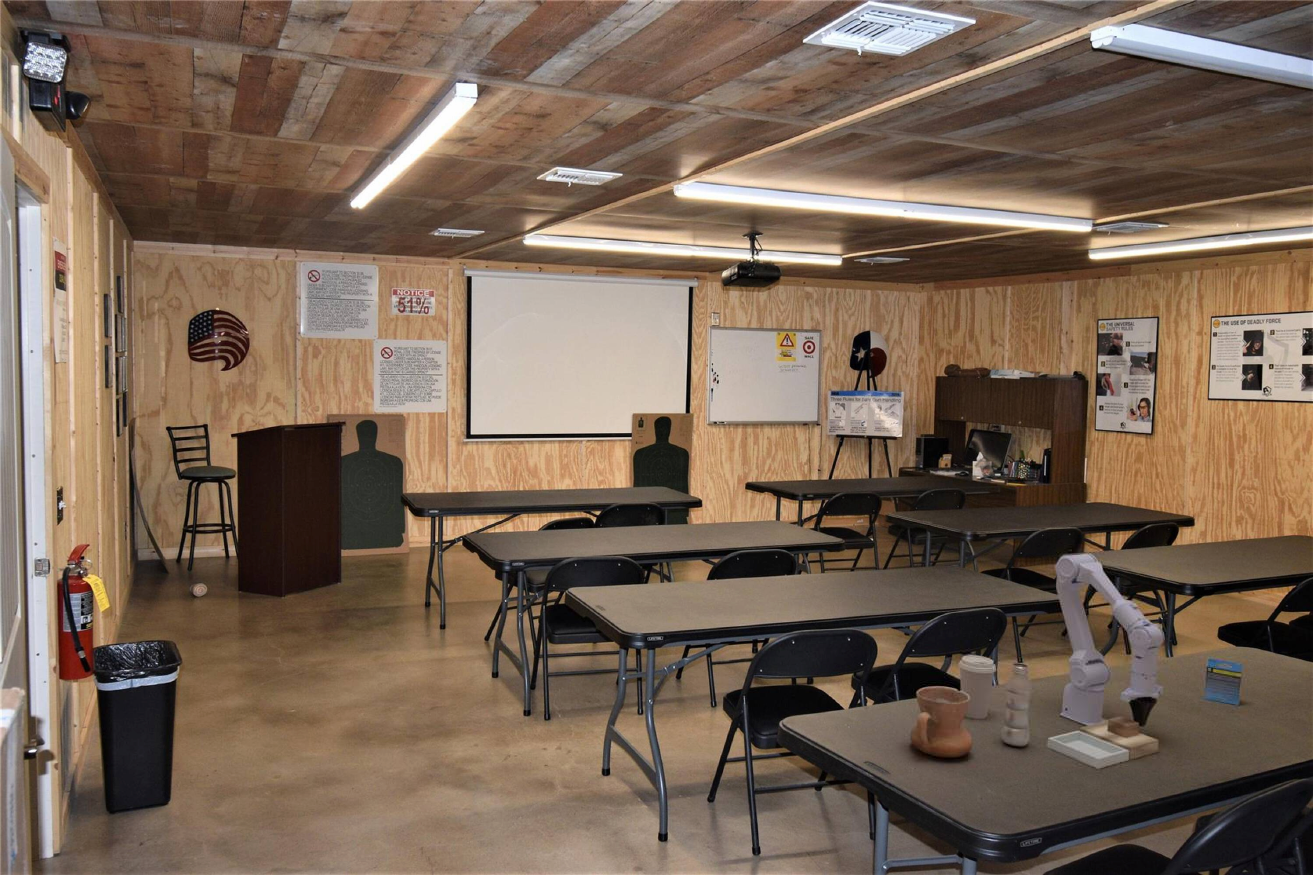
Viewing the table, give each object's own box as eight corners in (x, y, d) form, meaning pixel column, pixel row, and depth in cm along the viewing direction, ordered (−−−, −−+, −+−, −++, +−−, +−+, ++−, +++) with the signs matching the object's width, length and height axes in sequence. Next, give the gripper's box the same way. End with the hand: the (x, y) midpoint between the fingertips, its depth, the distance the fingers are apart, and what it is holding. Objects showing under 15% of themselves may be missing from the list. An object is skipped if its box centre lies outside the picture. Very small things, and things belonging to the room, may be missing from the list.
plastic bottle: (1028, 741, 247) (1033, 663, 245) (1029, 751, 240) (1034, 670, 239) (1000, 737, 249) (1006, 659, 247) (1000, 746, 243) (1006, 667, 241)
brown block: (1107, 730, 248) (1108, 719, 248) (1119, 727, 250) (1120, 716, 250) (1125, 737, 244) (1126, 726, 243) (1138, 734, 246) (1138, 722, 246)
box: (1047, 747, 243) (1047, 737, 243) (1077, 739, 249) (1078, 730, 249) (1097, 768, 231) (1098, 758, 231) (1128, 760, 237) (1129, 750, 237)
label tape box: (1239, 702, 283) (1243, 660, 282) (1239, 706, 280) (1242, 663, 279) (1204, 695, 288) (1208, 654, 287) (1203, 699, 284) (1207, 657, 283)
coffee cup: (953, 717, 262) (957, 661, 261) (957, 706, 271) (960, 652, 270) (991, 723, 258) (995, 667, 257) (994, 711, 267) (997, 657, 266)
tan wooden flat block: (1079, 739, 250) (1080, 727, 249) (1106, 732, 255) (1107, 720, 255) (1130, 759, 238) (1131, 747, 237) (1157, 751, 243) (1158, 739, 243)
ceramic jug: (936, 733, 250) (938, 678, 248) (987, 752, 238) (989, 694, 237) (891, 751, 238) (893, 693, 237) (942, 771, 227) (945, 711, 226)
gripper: (1141, 681, 242) (1136, 735, 243) (1176, 673, 250) (1171, 725, 251) (1114, 672, 248) (1110, 725, 249) (1149, 665, 256) (1145, 716, 257)
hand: (1139, 724), depth 250 cm, fingers closed
